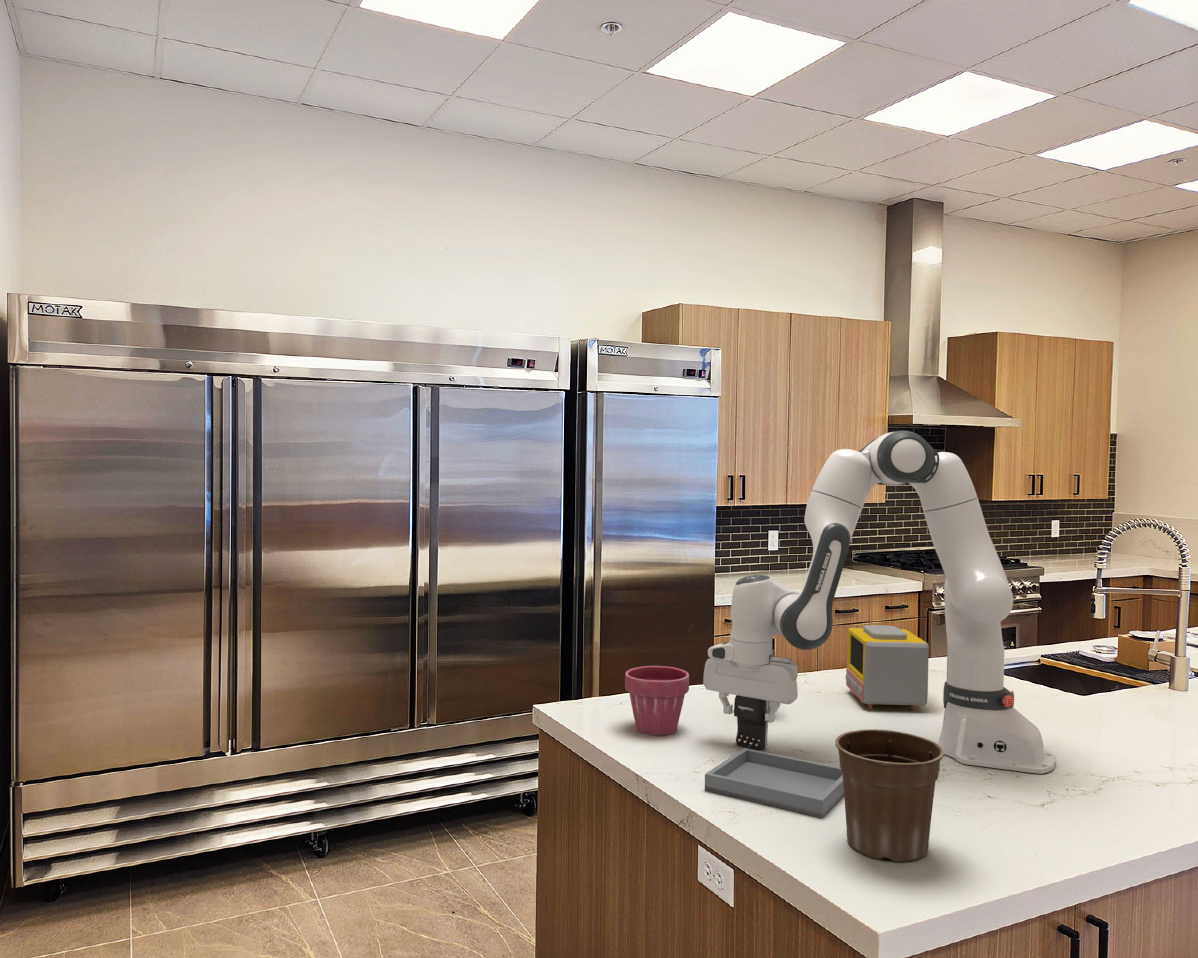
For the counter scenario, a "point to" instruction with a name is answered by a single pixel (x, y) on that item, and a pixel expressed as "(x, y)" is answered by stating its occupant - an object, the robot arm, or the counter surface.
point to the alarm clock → (887, 666)
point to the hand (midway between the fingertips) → (748, 717)
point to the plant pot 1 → (656, 697)
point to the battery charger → (751, 722)
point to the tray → (778, 781)
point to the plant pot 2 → (888, 792)
